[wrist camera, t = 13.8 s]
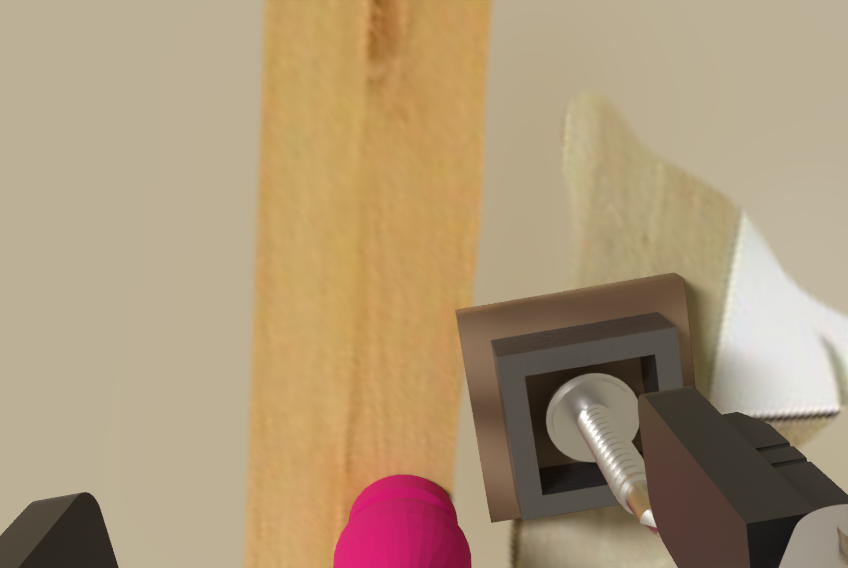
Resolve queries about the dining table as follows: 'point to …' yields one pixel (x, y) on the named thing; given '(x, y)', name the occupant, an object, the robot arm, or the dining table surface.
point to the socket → (568, 350)
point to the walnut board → (543, 316)
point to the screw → (602, 435)
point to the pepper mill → (402, 528)
